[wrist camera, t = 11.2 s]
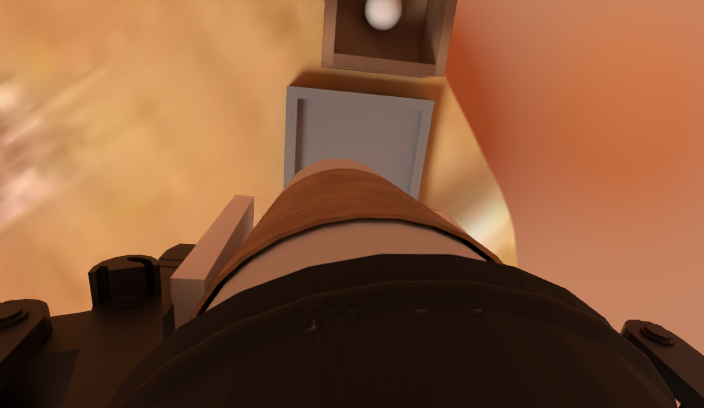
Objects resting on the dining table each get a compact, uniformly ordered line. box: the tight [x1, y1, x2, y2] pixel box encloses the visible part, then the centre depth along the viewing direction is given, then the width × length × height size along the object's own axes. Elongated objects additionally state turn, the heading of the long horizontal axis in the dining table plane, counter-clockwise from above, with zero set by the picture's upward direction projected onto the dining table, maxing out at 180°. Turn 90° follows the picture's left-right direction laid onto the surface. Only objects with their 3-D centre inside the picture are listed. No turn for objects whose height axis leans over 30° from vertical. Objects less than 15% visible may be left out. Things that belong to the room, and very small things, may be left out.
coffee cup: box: [106, 158, 678, 408], centre depth 10 cm, size 8×8×15 cm
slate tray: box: [284, 86, 435, 201], centre depth 34 cm, size 14×14×2 cm
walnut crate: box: [321, 0, 457, 78], centre depth 28 cm, size 10×10×6 cm
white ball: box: [365, 0, 402, 31], centre depth 29 cm, size 3×3×3 cm
